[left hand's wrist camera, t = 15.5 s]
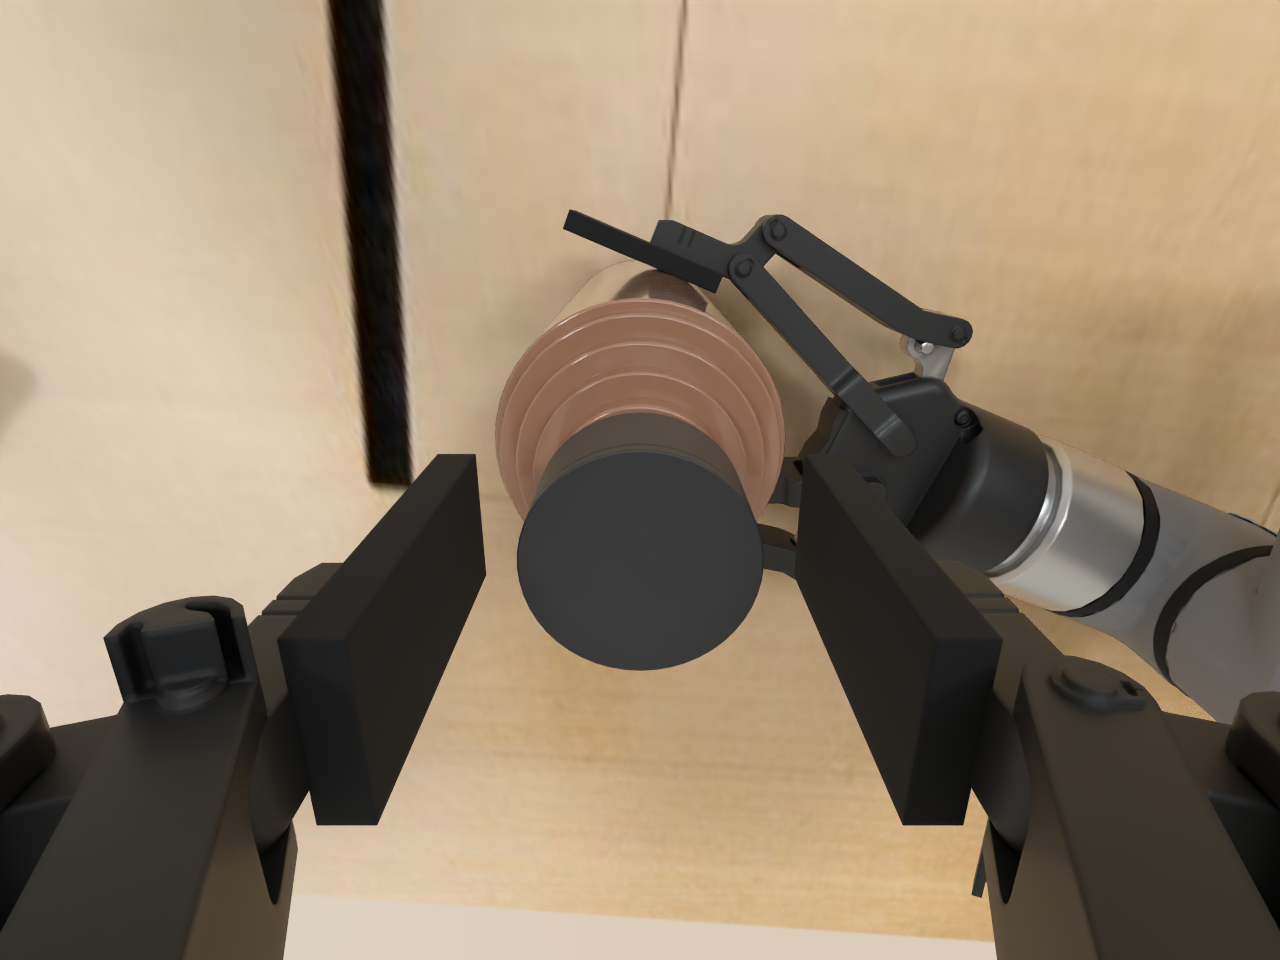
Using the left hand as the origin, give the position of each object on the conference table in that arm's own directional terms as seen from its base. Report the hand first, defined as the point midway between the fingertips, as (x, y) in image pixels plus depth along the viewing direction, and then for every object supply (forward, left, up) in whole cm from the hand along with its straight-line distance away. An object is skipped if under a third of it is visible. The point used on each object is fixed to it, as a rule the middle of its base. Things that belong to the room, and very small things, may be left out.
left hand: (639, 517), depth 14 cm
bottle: (0, 0, -23) cm, 23 cm away
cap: (0, 0, +2) cm, 2 cm away
